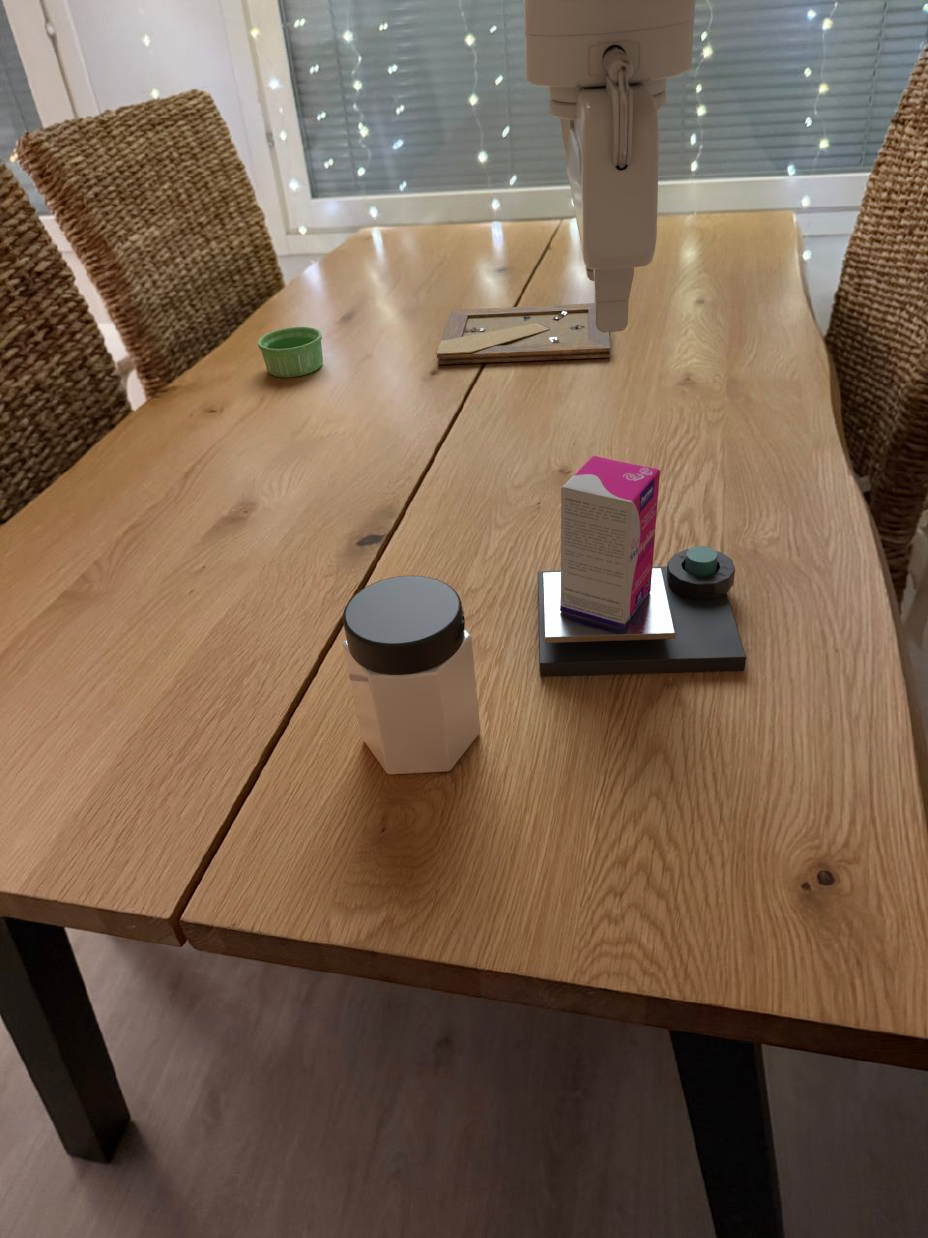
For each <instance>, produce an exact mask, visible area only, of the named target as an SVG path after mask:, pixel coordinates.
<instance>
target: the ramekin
mask: <svg viewBox="0 0 928 1238" xmlns="http://www.w3.org/2000/svg"><path fill="white" fill-rule="evenodd" d="M322 339H323V334H322V331H320V330H319V329H318V328H315V327H311V326H290V327H284V328H280V329H276V330H273V331H270V332H268V333H265V334H264V335H262V336H261V337H260V338H259V339H258V341H257V347H258V348H259V350H260V352H261V355H262V358H263V362H264V364H265V368H266V371H267V372H268V373H269V374H270V375H272V376H274V377H278V378H296V377H302V376H305V375H309V374H311V373H314V372H316V371H317V370H319V369H320V368H321V367H322V365H323V363H324V357H323V349H322V348H323V347H322V346H323V345H322Z"/></svg>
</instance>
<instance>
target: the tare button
mask: <svg viewBox="0 0 928 1238" xmlns="http://www.w3.org/2000/svg"><path fill="white" fill-rule="evenodd" d="M688 549H689V550H688V551H687V553H686V564H685V570H686V572H687V573H689V574H692V575H696V576H710V575H712V574H714V573H715V572H716V568H717V558H718V554H717V552H716V551H717V550H716V549H714V548H712V547H710V546H705V545H697V546H693V547H690V548H688Z"/></svg>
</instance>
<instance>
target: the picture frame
mask: <svg viewBox="0 0 928 1238" xmlns="http://www.w3.org/2000/svg"><path fill="white" fill-rule="evenodd" d="M436 350H437V351H436V359H437V360H436V363H437V365H459V364H460V365H461V364H481V363H506V362H528V361H532V362H533V361H551V360H552V361H553V360H575V359H576V360H578V359H579V360H580V359H601V358H611V341H610V332H601V331H599V330H598V329H597V327H596V323H595V302H591V303H590V302H588V303H571V304H570V303H569V304H550V305H527V306H509V307H489V308H469V309H467V308H466V309H451V310H450V312H449V316H448V318H447V322H446V325H445V328H444V331H443V335H442V336H441V340H440V341H439V344H438V348H437V349H436Z"/></svg>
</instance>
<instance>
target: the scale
mask: <svg viewBox="0 0 928 1238" xmlns="http://www.w3.org/2000/svg"><path fill="white" fill-rule="evenodd" d="M689 549H690V548H688V549H684V550H681V551H678V552H677V553H674V554H673V555H672V556H671V557H670V558H669V560H668V561H667V565H666V566H653V568H661V570H662V574H663V579H664V584H665V588H666V593H667V598H668V603H669V607H670V612H671V617H672V621H673V626H674V631H675V639H656V640H625V641H594V642H563V643H545V624H544V590H543V573H550V572H561V570H542V571H541V570H540V571H537V609H538V610H537V612H538V654H539V655H538V657H539V663H538V664H539V676H540V677H564V676H568V677H569V676H601V675H634V674H635V675H636V674H637V675H639V674H669V673H671V674H672V673H675V674H676V673H705V672H706V673H707V672H709V673H710V672H736V671H739V672H741V671H745V670H746V663H747V662H746V661H747V655H746V652H745V648H744V645H743V641H742V638H741V635H740V631H739V628H738V625H737V622H736V618H735V616H734V612H733V609H732V606H731V602H730V600H729V596H728V593H729V591H730V590H731V589H732V587H733V586H734V583H735V575H736V574H735V573H736V568H735V564H734V562H733V559H732V558H730V557H729V556H727V555H725V553H723V552H721V551H718V550H715V551H716V552H717V554H718V558H717V568H716V572H715V573H714V574H712V575H710V576H696V575H692V574H689V573H687V572H686V570H685V564H686V553H687V551H688V550H689ZM653 568H652V569H653Z"/></svg>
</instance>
